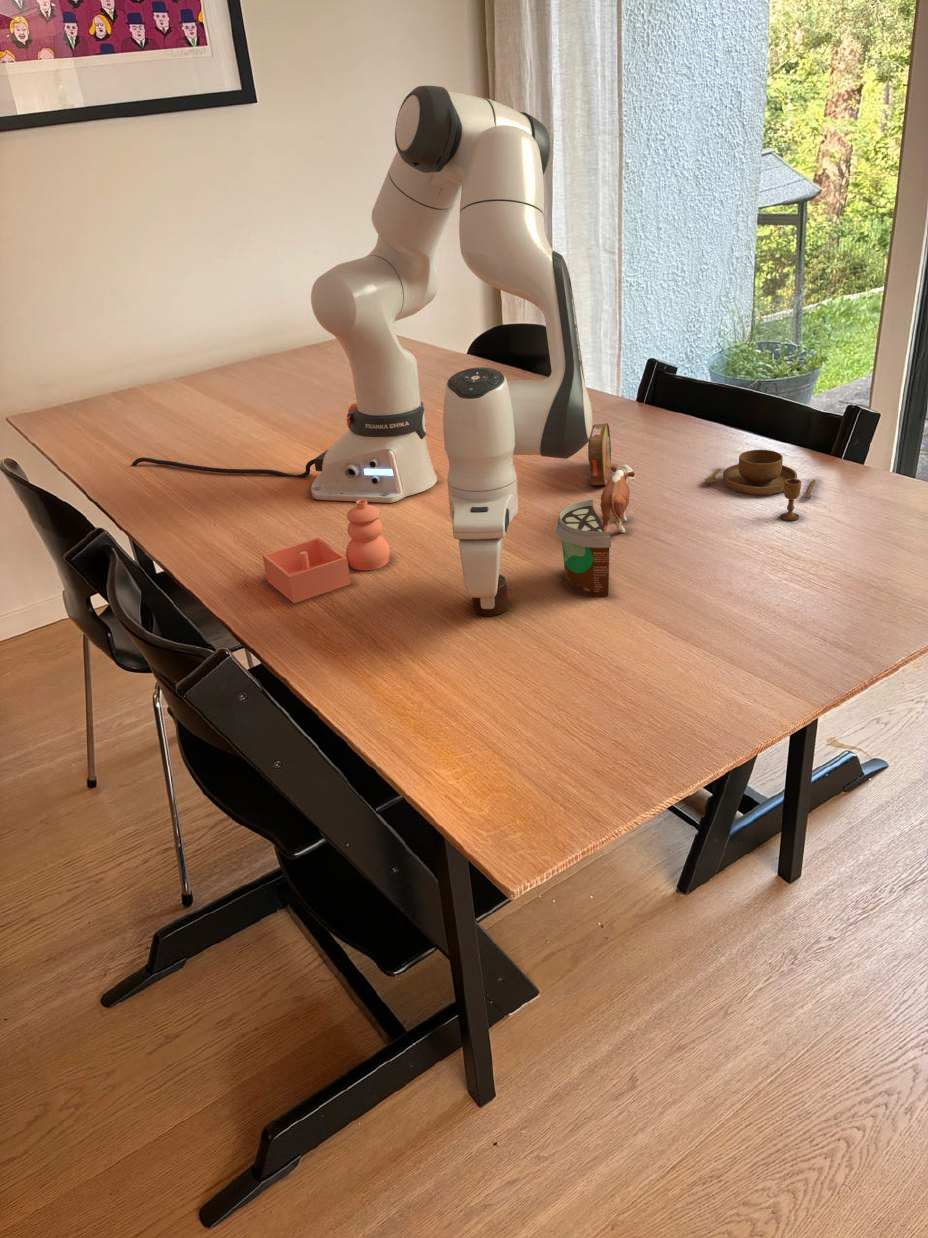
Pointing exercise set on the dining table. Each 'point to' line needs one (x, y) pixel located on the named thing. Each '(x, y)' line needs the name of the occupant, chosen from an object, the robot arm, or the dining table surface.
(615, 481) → the bull figurine
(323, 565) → the pottery
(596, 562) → the food container
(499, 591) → the brown cylinder
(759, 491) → the place setting
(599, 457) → the tin
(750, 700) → the dining table surface
